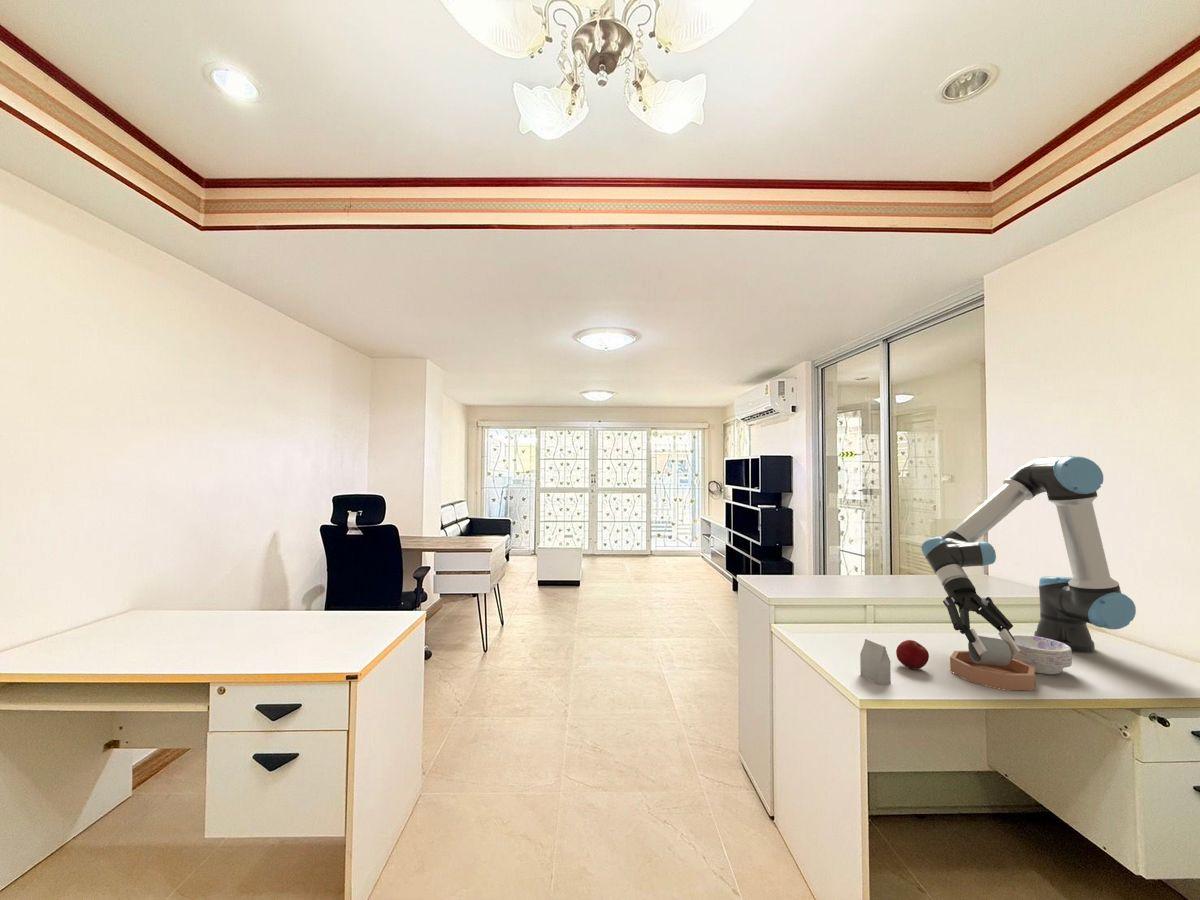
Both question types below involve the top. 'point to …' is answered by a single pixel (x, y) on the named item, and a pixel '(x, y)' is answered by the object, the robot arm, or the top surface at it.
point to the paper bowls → (1043, 654)
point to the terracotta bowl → (994, 672)
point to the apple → (912, 654)
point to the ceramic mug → (992, 652)
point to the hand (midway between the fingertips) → (999, 653)
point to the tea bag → (875, 663)
